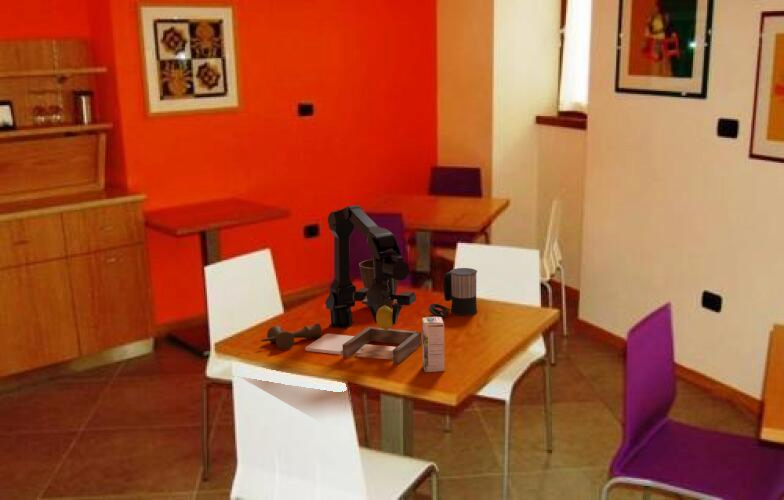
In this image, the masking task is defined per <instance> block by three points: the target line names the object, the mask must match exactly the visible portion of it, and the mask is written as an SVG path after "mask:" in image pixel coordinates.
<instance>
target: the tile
mask: <svg viewBox="0 0 784 500" xmlns="http://www.w3.org/2000/svg"><path fill="white" fill-rule="evenodd" d="M354 336H355V335H345V334H338V333H337V334H336V333H326V334H324V335H322V336H321V338H319V339H318V338H317V339H316V340H315V341H312V343H310V344H308V345H307V346H305V347H304V349H305V351H307V352H314V353H322V354H323V353H325V354H331V355H343V346H342V345H343V344H344V343H346V342H347V341H349V340H350V339H352V338H353V337H354Z"/></svg>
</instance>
